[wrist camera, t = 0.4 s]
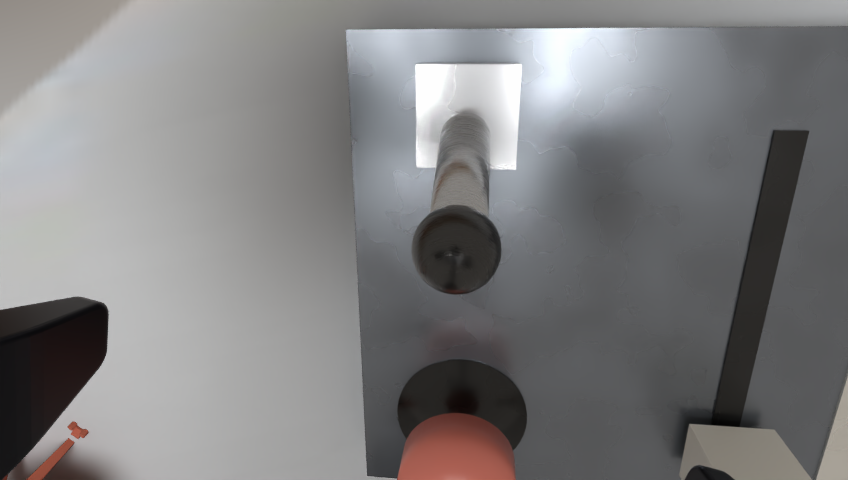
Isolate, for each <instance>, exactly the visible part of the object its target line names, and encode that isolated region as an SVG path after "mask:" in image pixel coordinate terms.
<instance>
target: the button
mask: <svg viewBox="0 0 848 480" xmlns="http://www.w3.org/2000/svg"><path fill="white" fill-rule="evenodd" d="M397 480H516V475H515V459H514V453H513V449H512V447H511V445H510V443H509V441H508V439H507V438H506V436H505V435H504V434H503V433H502V432H501V431H500V430H499V429H498V428H497V427H495V426H494V425H493V424H491V423H490V422H488V421H486V420H484V419H482V418H479V417H476V416H473V415H469V414H462V413H447V414H441V415H437V416H434V417H431V418H429V419H427V420H425V421H423V422H421V423H420V424H419V425H417V426H416V427H415V428H414V429H413V430H412V432H411V433H410V434H409V436H408V438H407V440H406V442H405V445H404V450H403V454H402V459H401V464H400V469H399V474H398V478H397Z"/></svg>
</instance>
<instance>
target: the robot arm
mask: <svg viewBox="0 0 848 480" xmlns="http://www.w3.org/2000/svg"><path fill="white" fill-rule="evenodd" d="M108 316H109V314H108V309H107V306H106V305H105V304H104V303H102V302H98V301H95V300H91V299H87V298H84V297H71V298H65V299H60V300H54V301H48V302H43V303H37V304H31V305H26V306H20V307H14V308H9V309H3V310H0V480H3V479H4V478H5V477H6V476H7V475H8V474H9V473H10V472H11V471H12V470H13V469H14V468H15V467H16V466H17V464H18V463H19V462H20V461H21V460H22V459H23V458H24V457H25V456H26V455H27V454H28V453H29V452H30V451H31V450H32V449H33V447H34V446H35V445H36V444H37V443H38V442H39V441H40V439H41V438H42V437H43V436H44V435H45V434H46V432H47V431H48V430H49V429H50V427H51V426H52V425H53V424H54V423H55V421H56V420H57V419H58V418H59V416H60V415H61V414H62V413H63V412H64V410H65V409H66V408H67V407H68V405H69V404H70V403H71V402H72V400H73V399H74V398H75V397H76V396H77V394H78V393H79V392H80V391H81V389H82V388H83V387H84V386H85V385H86V383H87V382H88V381H89V380H90V378H91V377H92V376H93V375H94V374H95V372H96V371H97V370H98V369H99V367H100V366H101V364H102V363H103V361H104V359H105V356H106V352H107V339H108ZM685 480H735V479H733V478H732V477H731V476H730V475H729V474H727V473H726V472H724V471H721V470H717V469H714V468H710V467H706V466H702V465H696V466H694V467H692V468H691V469H690V471H689V472H688V474H687V476H686V478H685Z"/></svg>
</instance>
